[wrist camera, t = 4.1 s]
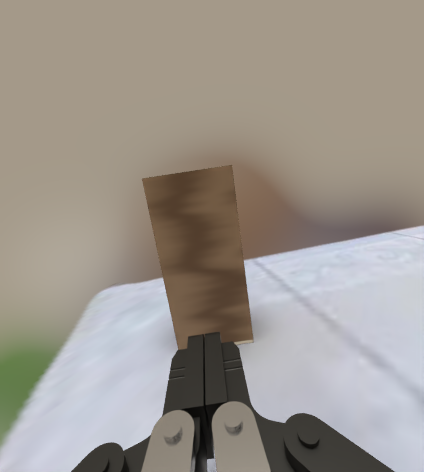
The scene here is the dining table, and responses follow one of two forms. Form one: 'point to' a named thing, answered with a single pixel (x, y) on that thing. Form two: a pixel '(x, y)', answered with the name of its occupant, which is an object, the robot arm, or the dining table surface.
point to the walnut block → (201, 253)
